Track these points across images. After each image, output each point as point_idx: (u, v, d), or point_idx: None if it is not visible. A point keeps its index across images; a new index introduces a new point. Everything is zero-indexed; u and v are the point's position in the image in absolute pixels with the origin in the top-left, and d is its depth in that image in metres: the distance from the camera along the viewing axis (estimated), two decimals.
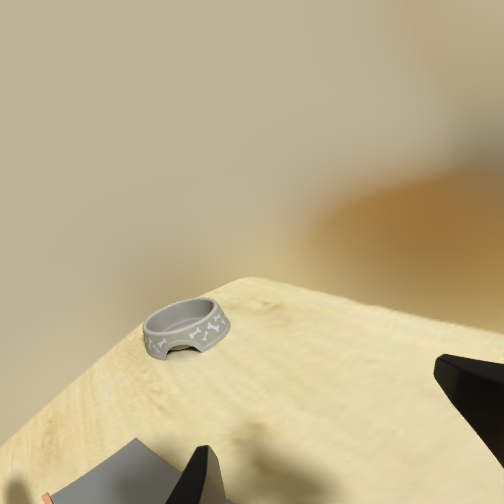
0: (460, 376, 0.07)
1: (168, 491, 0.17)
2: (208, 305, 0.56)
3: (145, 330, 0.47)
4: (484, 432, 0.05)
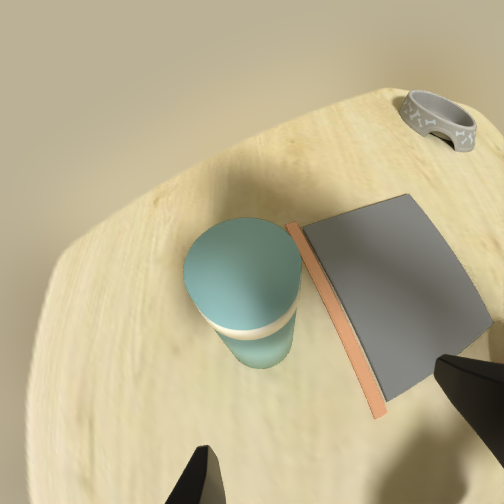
0: (460, 376, 0.07)
1: (439, 259, 0.25)
2: (462, 116, 0.39)
3: (415, 102, 0.38)
4: (484, 432, 0.05)
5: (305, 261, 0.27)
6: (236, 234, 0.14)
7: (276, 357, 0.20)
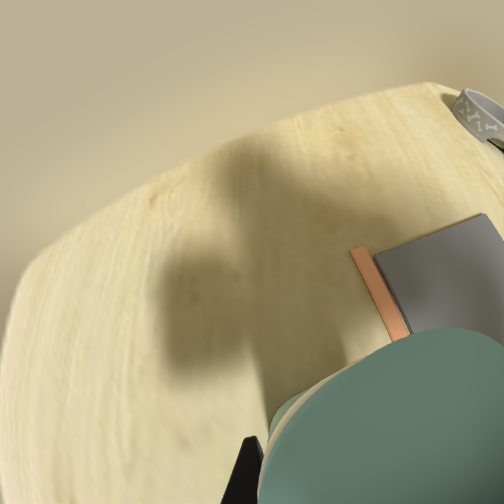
0: None
1: None
2: None
3: (474, 102, 0.26)
4: None
5: (382, 311, 0.16)
6: (427, 395, 0.03)
7: None
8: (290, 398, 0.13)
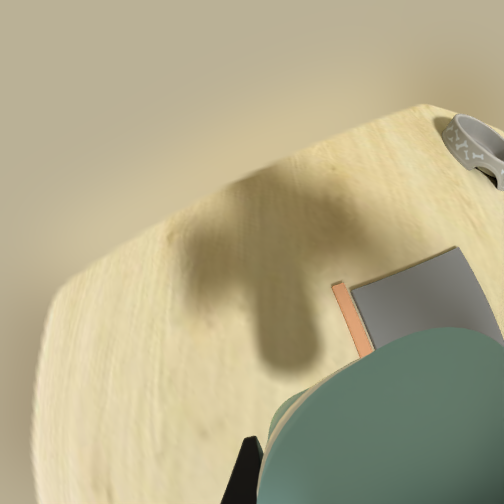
0: None
1: (482, 327, 0.20)
2: (503, 148, 0.32)
3: (463, 131, 0.32)
4: None
5: (353, 336, 0.22)
6: (426, 395, 0.03)
7: None
8: (290, 398, 0.13)
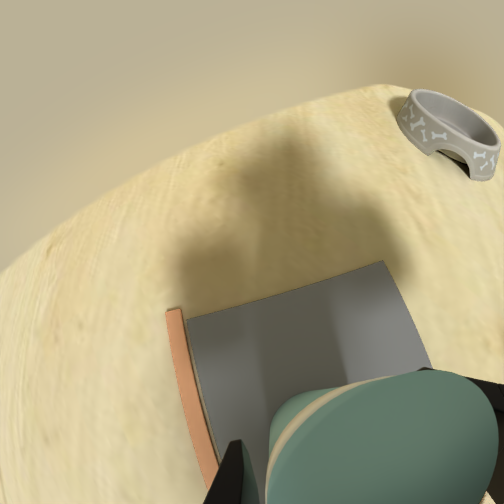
0: None
1: None
2: (481, 128, 0.27)
3: (419, 105, 0.27)
4: None
5: (177, 378, 0.17)
6: (402, 425, 0.04)
7: None
8: (289, 400, 0.14)
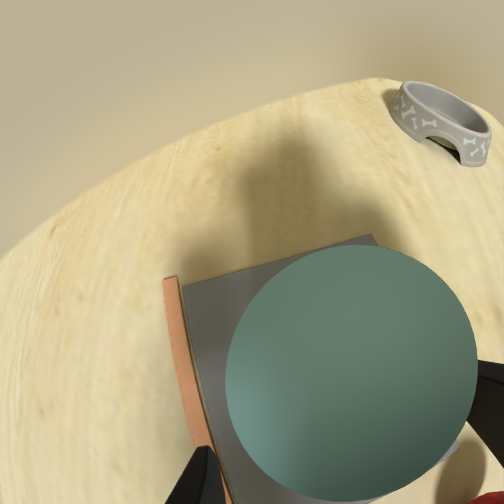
0: None
1: None
2: (473, 118, 0.28)
3: (410, 95, 0.28)
4: (484, 432, 0.05)
5: (171, 342, 0.18)
6: (353, 288, 0.05)
7: None
8: None
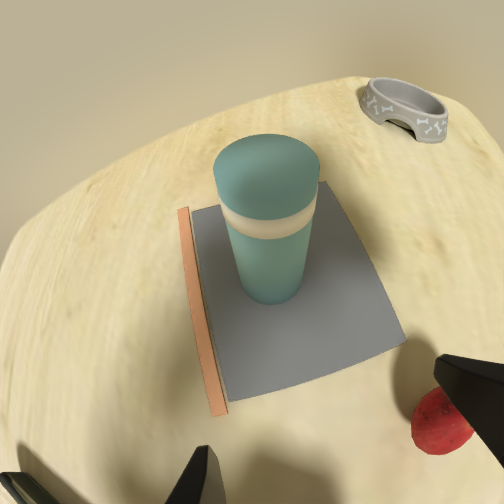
0: (460, 376, 0.07)
1: (339, 254, 0.25)
2: (435, 105, 0.37)
3: (373, 88, 0.37)
4: (484, 432, 0.05)
5: (182, 245, 0.27)
6: (262, 144, 0.15)
7: (287, 286, 0.21)
8: None
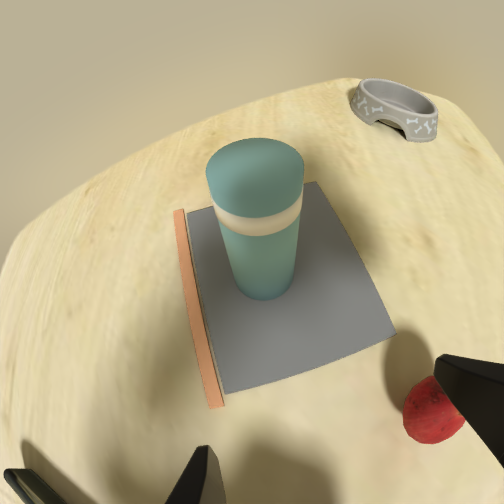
0: (460, 376, 0.07)
1: (329, 251, 0.27)
2: (425, 105, 0.39)
3: (363, 89, 0.38)
4: (484, 432, 0.05)
5: (178, 245, 0.28)
6: (251, 147, 0.16)
7: (278, 282, 0.22)
8: None
